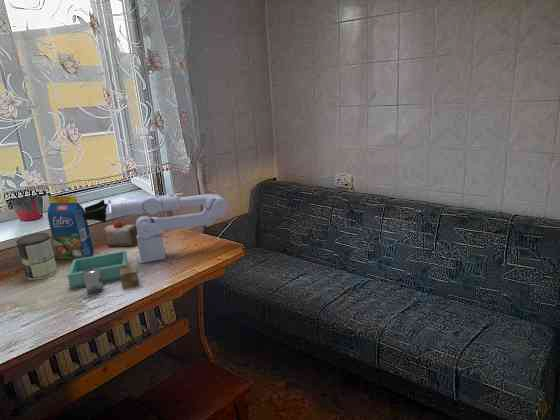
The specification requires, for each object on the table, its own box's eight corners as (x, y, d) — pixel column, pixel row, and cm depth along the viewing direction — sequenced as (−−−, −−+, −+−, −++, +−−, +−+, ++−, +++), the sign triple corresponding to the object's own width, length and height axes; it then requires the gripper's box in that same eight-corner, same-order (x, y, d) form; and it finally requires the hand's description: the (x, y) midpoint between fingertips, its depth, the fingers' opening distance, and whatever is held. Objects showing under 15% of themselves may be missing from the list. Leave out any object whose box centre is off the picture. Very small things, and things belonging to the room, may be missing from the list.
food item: (104, 247, 175) (99, 225, 172) (115, 240, 182) (111, 218, 179) (133, 248, 171) (128, 225, 169) (143, 241, 179) (139, 219, 176)
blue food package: (68, 253, 170) (54, 194, 163) (94, 254, 168) (81, 193, 161) (57, 259, 164) (42, 198, 157) (84, 260, 162) (70, 198, 155)
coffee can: (19, 280, 148) (9, 243, 144) (36, 268, 157) (27, 233, 153) (47, 279, 147) (38, 242, 143) (63, 267, 157) (54, 231, 153)
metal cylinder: (104, 285, 139) (100, 266, 137) (103, 292, 135) (99, 272, 133) (88, 288, 138) (83, 269, 136) (86, 295, 133) (81, 275, 131)
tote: (128, 263, 156) (126, 250, 155) (127, 278, 144) (125, 264, 142) (76, 272, 151) (73, 259, 150) (70, 289, 138) (67, 275, 137)
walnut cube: (138, 279, 142) (136, 265, 141) (138, 285, 138) (136, 271, 136) (123, 282, 141) (120, 268, 139) (122, 288, 136) (120, 274, 135)
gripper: (122, 192, 157) (83, 197, 152) (123, 202, 144) (80, 207, 139) (125, 210, 159) (86, 216, 154) (126, 221, 146) (84, 227, 141)
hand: (84, 213), depth 147 cm, fingers open, 7 cm apart
